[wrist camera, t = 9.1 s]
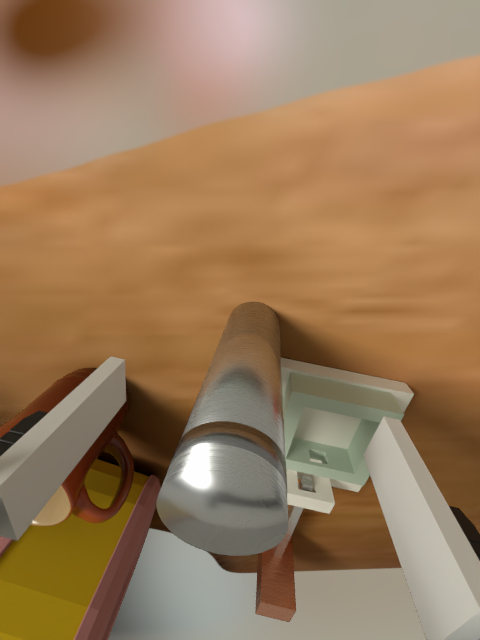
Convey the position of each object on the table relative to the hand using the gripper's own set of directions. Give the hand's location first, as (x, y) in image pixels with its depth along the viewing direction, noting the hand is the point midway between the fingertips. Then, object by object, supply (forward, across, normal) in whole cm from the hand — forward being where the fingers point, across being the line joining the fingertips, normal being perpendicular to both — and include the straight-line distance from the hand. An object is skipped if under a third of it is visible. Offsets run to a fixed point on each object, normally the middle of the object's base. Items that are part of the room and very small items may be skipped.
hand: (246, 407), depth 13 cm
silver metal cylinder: (+10, 0, 0) cm, 10 cm away
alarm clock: (+10, -14, -27) cm, 32 cm away
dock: (+10, +8, -9) cm, 15 cm away
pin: (+9, +8, -21) cm, 25 cm away
